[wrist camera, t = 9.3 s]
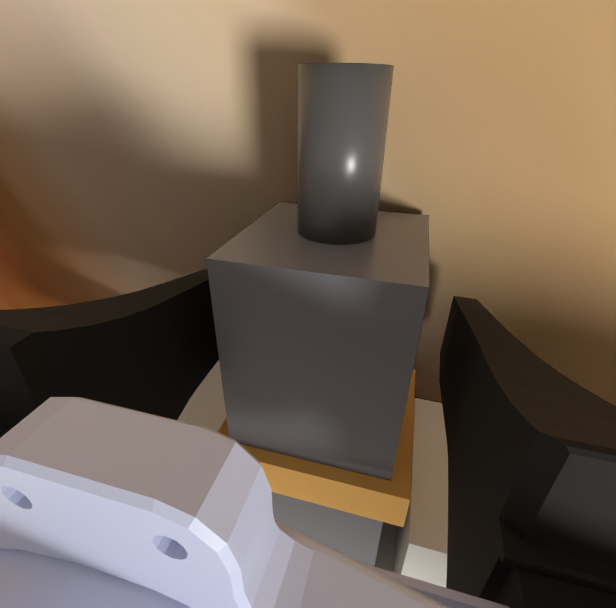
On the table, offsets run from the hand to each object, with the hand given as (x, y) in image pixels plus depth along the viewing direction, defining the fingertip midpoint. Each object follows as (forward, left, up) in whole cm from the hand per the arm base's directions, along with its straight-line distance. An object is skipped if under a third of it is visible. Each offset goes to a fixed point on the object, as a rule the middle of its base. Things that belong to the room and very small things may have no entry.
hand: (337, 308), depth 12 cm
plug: (0, +1, -1) cm, 1 cm away
